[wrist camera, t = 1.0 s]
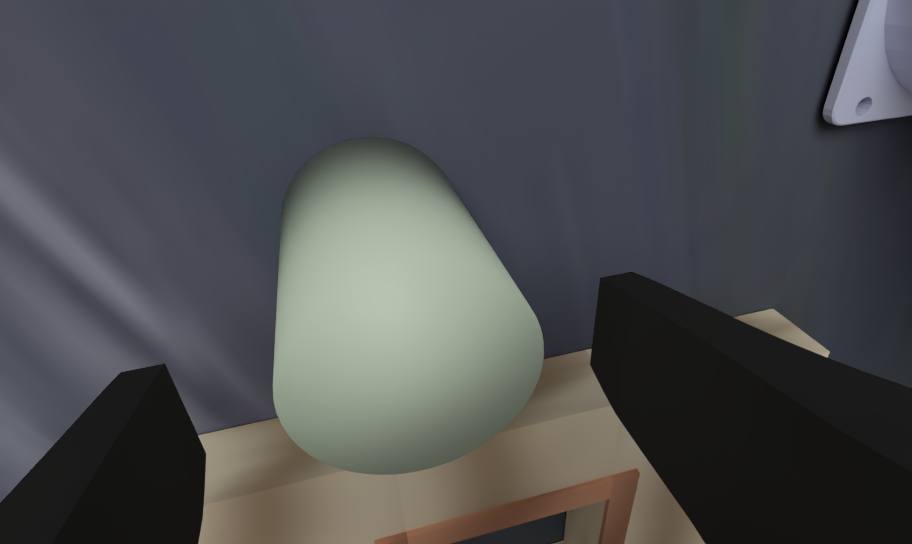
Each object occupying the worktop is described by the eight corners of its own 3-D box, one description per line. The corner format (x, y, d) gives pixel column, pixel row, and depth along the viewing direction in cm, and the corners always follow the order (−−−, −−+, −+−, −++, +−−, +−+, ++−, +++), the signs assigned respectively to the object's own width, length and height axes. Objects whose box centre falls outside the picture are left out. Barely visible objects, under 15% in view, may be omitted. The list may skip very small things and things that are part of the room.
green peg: (450, 126, 13) (550, 241, 8) (458, 278, 15) (539, 441, 10) (261, 149, 12) (237, 296, 7) (301, 307, 14) (305, 499, 9)
